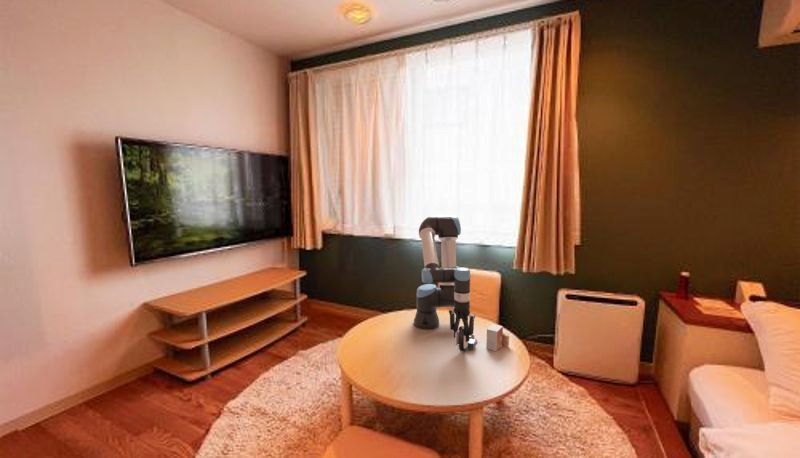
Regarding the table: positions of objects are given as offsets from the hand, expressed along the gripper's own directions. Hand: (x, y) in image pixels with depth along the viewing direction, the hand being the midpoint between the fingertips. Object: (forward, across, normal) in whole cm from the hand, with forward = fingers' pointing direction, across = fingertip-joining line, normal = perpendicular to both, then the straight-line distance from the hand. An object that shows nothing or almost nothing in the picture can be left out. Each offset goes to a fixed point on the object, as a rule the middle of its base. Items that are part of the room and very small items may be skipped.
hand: (461, 345), depth 162 cm
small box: (+4, +10, +16) cm, 20 cm away
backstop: (+4, +11, +22) cm, 25 cm away
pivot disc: (+4, -3, +14) cm, 14 cm away
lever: (+3, 0, +8) cm, 8 cm away
